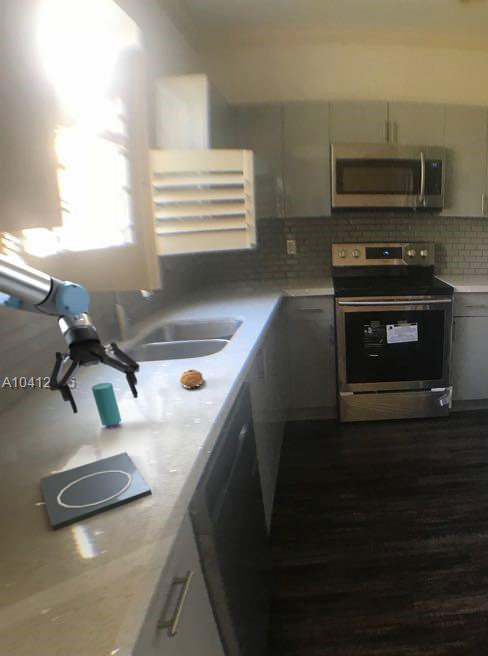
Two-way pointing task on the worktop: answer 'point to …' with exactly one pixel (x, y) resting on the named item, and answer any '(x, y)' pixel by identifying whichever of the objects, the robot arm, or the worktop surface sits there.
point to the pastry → (191, 378)
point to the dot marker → (106, 404)
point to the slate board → (92, 489)
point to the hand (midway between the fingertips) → (106, 402)
